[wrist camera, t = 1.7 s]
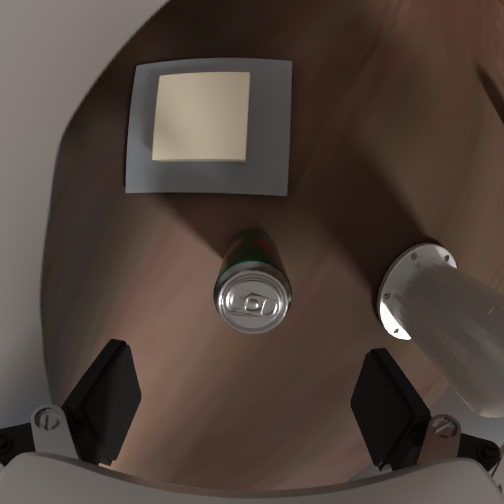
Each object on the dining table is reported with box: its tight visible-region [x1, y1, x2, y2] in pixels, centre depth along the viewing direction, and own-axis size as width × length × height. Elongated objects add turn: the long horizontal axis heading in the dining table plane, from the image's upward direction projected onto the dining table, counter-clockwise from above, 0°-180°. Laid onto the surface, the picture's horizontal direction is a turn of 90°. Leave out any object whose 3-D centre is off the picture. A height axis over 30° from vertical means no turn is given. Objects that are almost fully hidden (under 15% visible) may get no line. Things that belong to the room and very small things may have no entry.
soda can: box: [213, 230, 292, 334], centre depth 22 cm, size 5×5×12 cm
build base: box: [126, 58, 292, 196], centre depth 23 cm, size 16×14×4 cm
